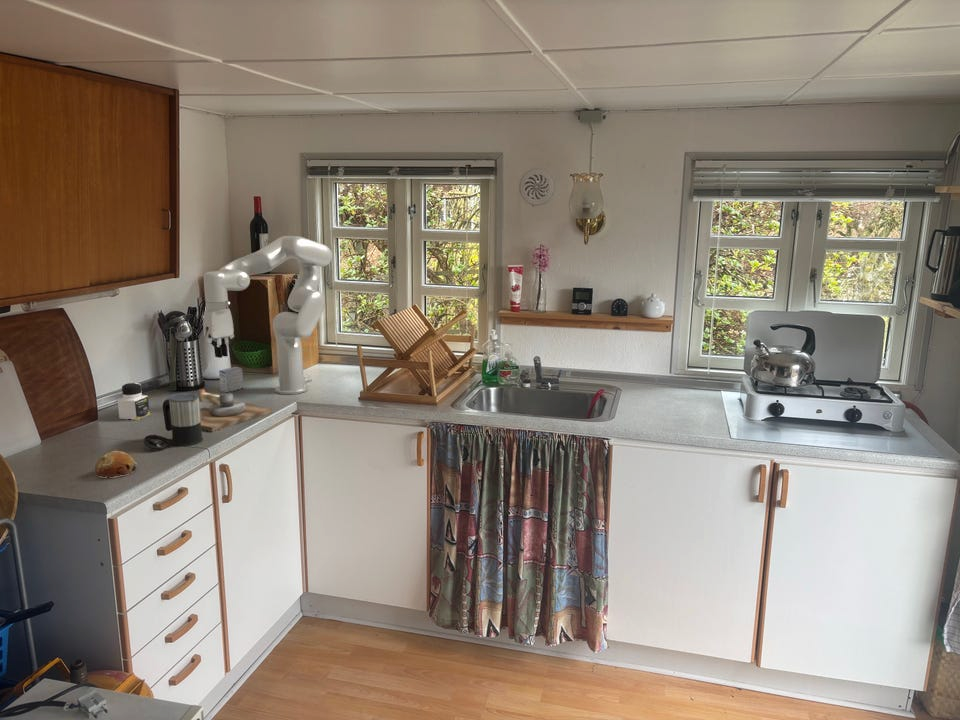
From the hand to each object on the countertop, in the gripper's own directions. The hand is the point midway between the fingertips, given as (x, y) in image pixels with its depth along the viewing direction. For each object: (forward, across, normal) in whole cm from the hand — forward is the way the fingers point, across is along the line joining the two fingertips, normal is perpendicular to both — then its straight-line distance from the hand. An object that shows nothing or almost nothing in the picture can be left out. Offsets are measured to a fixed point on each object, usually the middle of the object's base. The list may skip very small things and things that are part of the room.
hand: (221, 356), depth 263 cm
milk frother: (+19, +37, +20) cm, 46 cm away
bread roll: (+20, +60, +27) cm, 69 cm away
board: (+19, +10, +9) cm, 23 cm away
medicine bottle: (+19, +24, -18) cm, 36 cm away
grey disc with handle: (+17, +7, +6) cm, 20 cm away
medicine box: (+19, -18, -18) cm, 32 cm away
